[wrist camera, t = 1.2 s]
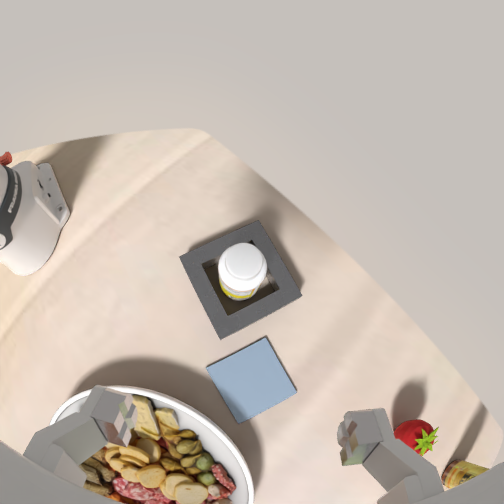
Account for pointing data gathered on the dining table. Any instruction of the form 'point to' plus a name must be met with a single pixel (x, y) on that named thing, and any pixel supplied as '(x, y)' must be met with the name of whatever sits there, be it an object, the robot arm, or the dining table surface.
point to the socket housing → (275, 273)
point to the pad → (251, 380)
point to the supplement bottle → (241, 271)
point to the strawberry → (416, 435)
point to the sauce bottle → (460, 473)
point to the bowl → (166, 456)
